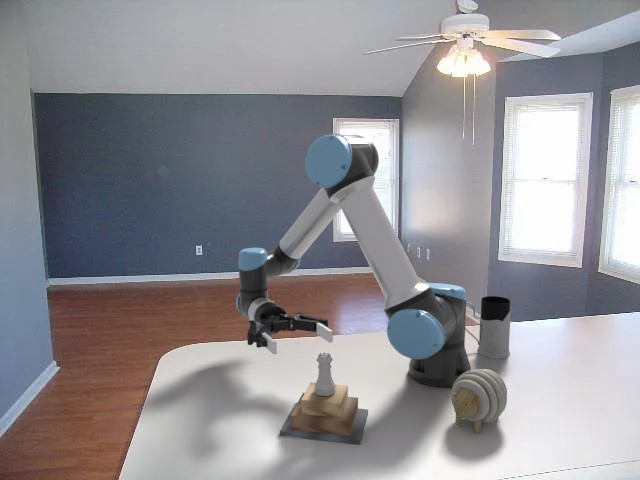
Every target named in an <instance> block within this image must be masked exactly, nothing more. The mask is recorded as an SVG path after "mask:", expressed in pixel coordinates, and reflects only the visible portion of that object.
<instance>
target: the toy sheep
mask: <svg viewBox="0 0 640 480" xmlns="http://www.w3.org/2000/svg"><path fill="white" fill-rule="evenodd" d="M450 400H451V403H452V404H451V405H452V406H453V410H454V413H455V420H454V422H455V424H454V425H456V426H457V427H461V426H462V425H463V419H464V420H465V419H466V420H467V421H469V422H471V423H473V431H474V433H475V434H480V433H481V428H482V425H481V424H483V423H491V422H494V421H497V420H499V418H500V417H501V415H502V413H503V412H504V411H505V409H506V408H507V407H506V406H507V403H508V388H507V386H506V383H505V381H504V379H503V378H502V377H501V376H500V374H498V373H497V372H495V371H493V370H491V369H488V368H482V369H481V368H475V369H471V370H470V371H467V372H465V373H463V374H462V375H461V376H460V377H459V378H458V379H456V381H455V382H454V384H453V387H451V391H450Z"/></svg>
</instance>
